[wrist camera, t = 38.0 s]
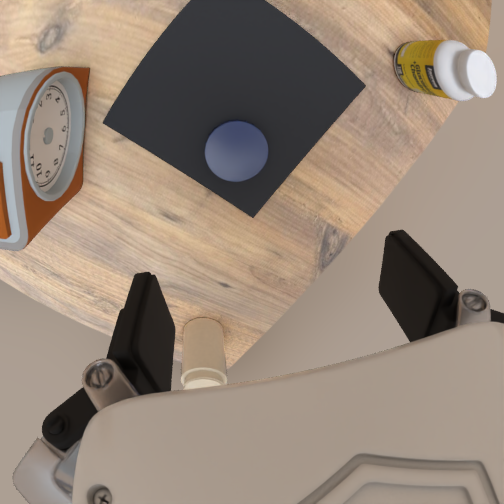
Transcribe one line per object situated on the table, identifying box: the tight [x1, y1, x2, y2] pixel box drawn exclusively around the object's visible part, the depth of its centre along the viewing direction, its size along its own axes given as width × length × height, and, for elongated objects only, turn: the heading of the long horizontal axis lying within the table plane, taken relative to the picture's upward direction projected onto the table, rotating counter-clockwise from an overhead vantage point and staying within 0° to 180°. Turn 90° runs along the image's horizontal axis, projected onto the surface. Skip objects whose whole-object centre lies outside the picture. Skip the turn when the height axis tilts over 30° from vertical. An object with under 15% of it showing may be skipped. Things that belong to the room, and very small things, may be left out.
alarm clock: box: [0, 66, 90, 251], centre depth 20 cm, size 15×8×14 cm, turn 169°
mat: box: [103, 0, 366, 218], centre depth 27 cm, size 20×20×1 cm
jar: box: [181, 318, 227, 390], centre depth 39 cm, size 6×6×10 cm
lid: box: [204, 119, 268, 182], centre depth 29 cm, size 6×6×2 cm
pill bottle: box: [394, 40, 496, 101], centre depth 21 cm, size 6×6×12 cm
